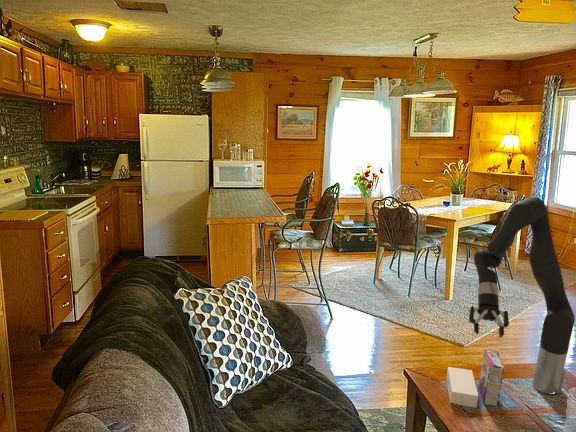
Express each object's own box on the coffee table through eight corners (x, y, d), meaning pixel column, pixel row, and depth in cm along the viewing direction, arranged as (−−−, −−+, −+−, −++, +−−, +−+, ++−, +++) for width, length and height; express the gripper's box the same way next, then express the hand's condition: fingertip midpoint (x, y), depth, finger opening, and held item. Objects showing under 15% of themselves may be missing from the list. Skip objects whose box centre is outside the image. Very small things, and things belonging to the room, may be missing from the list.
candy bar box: (477, 386, 181) (483, 348, 176) (491, 388, 180) (497, 350, 176) (483, 405, 170) (489, 365, 166) (497, 407, 170) (504, 367, 165)
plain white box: (470, 381, 184) (472, 370, 182) (476, 407, 169) (478, 395, 167) (446, 377, 186) (447, 366, 184) (450, 403, 171) (451, 391, 169)
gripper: (471, 290, 188) (471, 329, 180) (509, 294, 185) (511, 335, 177) (467, 296, 194) (467, 335, 186) (504, 301, 191) (506, 340, 184)
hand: (489, 335), depth 182 cm, fingers open, 8 cm apart
